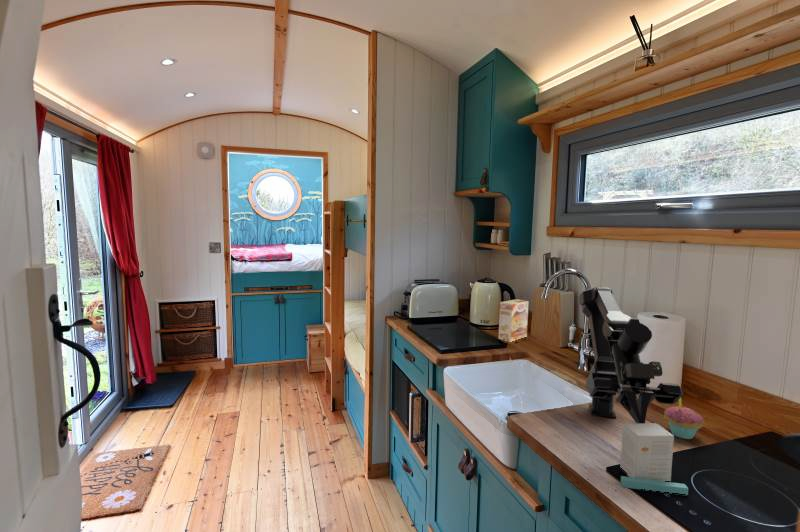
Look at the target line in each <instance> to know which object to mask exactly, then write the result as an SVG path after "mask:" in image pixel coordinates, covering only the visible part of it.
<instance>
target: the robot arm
mask: <svg viewBox="0 0 800 532" xmlns="http://www.w3.org/2000/svg"><path fill="white" fill-rule="evenodd" d="M578 304H579V305H580V307H581V312H582V313H583V314H584V316H585V317H587V319H588V322H589V329H590V336H591V343H592V350H593V358H594V363H593V365H592V367H591V368H590V371H589V372H590V373H589V374H588V377H587V378H586V380H585V386H586V389H587V391H588V392H589V396H590V397H591V404H588V407H589V408H588V409H589V411H590V414H591V415H592V416H598V417H603V418H604V417H605V418H606V417H607V418H611V419H617V414H616V413H615V410H614V408H615V407H614V404H615V402H616V403H619V404H620V405H621V406H622V407H623V408H624V409H625V411H627V413H628V414H629V415H630V417H631V418H632V420H633V421H634V422H635V424H636V423H646V419H647V412H648V407H649V405H650V404H651V403H653V401H654V400H655V402H657V403H658V404H661V405H663V404H664V405H676V403H677V402H678V400H679V399H680V398H681V399H682V397H683V396H684V392H683V390H682V387H681V385H679V384H677V383H669V382H660V383H658V385H657V386H656V387H652V386H651V387H650V386H647V385H650V383H651V379H652V380H655V377H661V376H663V367H662V365H661V362H660V361H654V360H653V361H649V362H648V363H644V362H643V361H642V362H641V358H640V354H641V353H642V352H643V351H644V350H645V349H646V348H647V345H648V344H649V342H650V341H651V339H652V337H653V331H652V330H651V329H650V328H649V327H648V326H647V325H645V324H644V323H641V322H640V319H639V318H632V317H631V316H629V315H627V314H625V313H623V312H622V309H620V307H619V305H618V304H619V303H618V302H617V301H616V299H615V297H614V295H613V290H612V288H609V287H599V286H596V287H593V288H591V289H587V290H583V291H582V292H581V293H580V294H579V297H578ZM611 341H614V343H613V345H611V344H610V342H611ZM610 345H611V346H610ZM615 396H616V398H615Z"/></svg>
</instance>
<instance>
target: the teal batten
mask: <svg viewBox="0 0 800 532" xmlns="http://www.w3.org/2000/svg"><path fill="white" fill-rule="evenodd" d="M620 485H621V486H622V488H628V489H632V490H633V489H634V490H641V489H643V490H642V491H649V490H652V491H651V492H656V491H660V492H659V493H664V492H669V493H668V494H672V493H679V494H686V495H685V496H687V495H689V487H688V486H687V485H686V484H685V483H679V482H671V481H670V482H665V481H657V480H649V479H641V478H633V477H629V476H623V475H620ZM644 489H645V490H644ZM679 494H678V495H679Z"/></svg>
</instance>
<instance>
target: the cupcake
mask: <svg viewBox="0 0 800 532" xmlns="http://www.w3.org/2000/svg"><path fill="white" fill-rule="evenodd" d="M677 402H678V406H677V405H674V406H670V407H667V408H666V409H665V410H664V415H663V417H664V419H665V420H666V421H667V422H668V425H669V428H670V433H671V434H672V435H674V437H677V438H680V439H684V440H691V439H694V437H695V435H696V432H697V431H699V429H702V428H703V427H704V419H703V418H702V416H701V415H700V414H699V413H697V412H696V410H693V409H691V407H685V406H683V405H682V403H683V402H682V397H681V398H680V399H679V400H678V401H677Z"/></svg>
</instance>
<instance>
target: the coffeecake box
mask: <svg viewBox="0 0 800 532" xmlns="http://www.w3.org/2000/svg"><path fill="white" fill-rule="evenodd" d="M529 302H530V301H528V300H524V299H518V298H516V299H511V300H505V301H500V302H499V319H498V339H501V340H505V341H509V342H512V341H515V340H518V339H521V338H524V337H527V338H528V323H529V322H528V319H529V304H530V303H529ZM498 339H497V340H498Z"/></svg>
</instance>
